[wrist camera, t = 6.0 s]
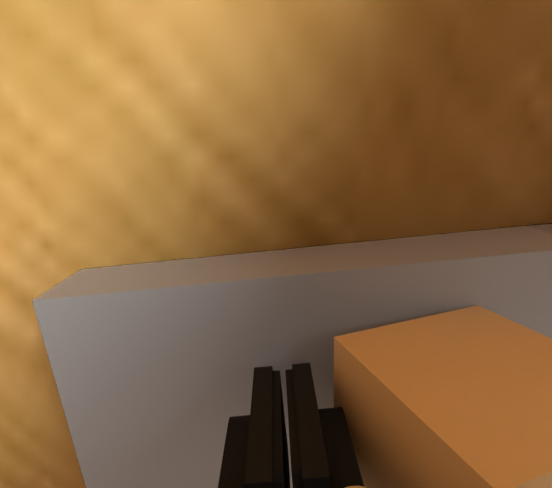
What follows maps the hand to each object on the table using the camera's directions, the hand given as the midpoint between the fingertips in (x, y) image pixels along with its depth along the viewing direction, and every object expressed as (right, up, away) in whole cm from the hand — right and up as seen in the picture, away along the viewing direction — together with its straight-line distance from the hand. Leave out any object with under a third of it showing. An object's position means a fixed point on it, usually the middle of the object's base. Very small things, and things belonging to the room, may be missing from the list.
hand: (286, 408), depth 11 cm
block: (+4, 0, 0) cm, 4 cm away
